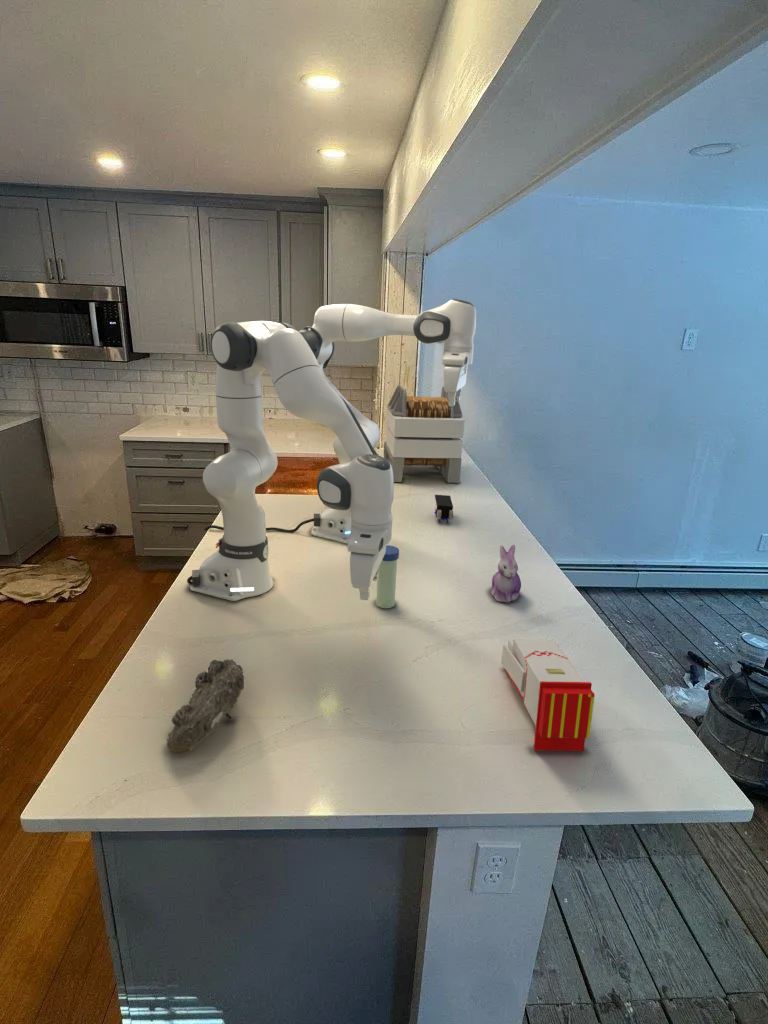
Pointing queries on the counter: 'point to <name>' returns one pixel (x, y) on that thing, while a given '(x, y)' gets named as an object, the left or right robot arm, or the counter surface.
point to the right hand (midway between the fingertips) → (454, 403)
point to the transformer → (424, 434)
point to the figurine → (506, 577)
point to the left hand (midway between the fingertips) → (369, 588)
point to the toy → (550, 693)
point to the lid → (391, 553)
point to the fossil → (206, 705)
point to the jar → (386, 584)
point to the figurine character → (443, 508)
